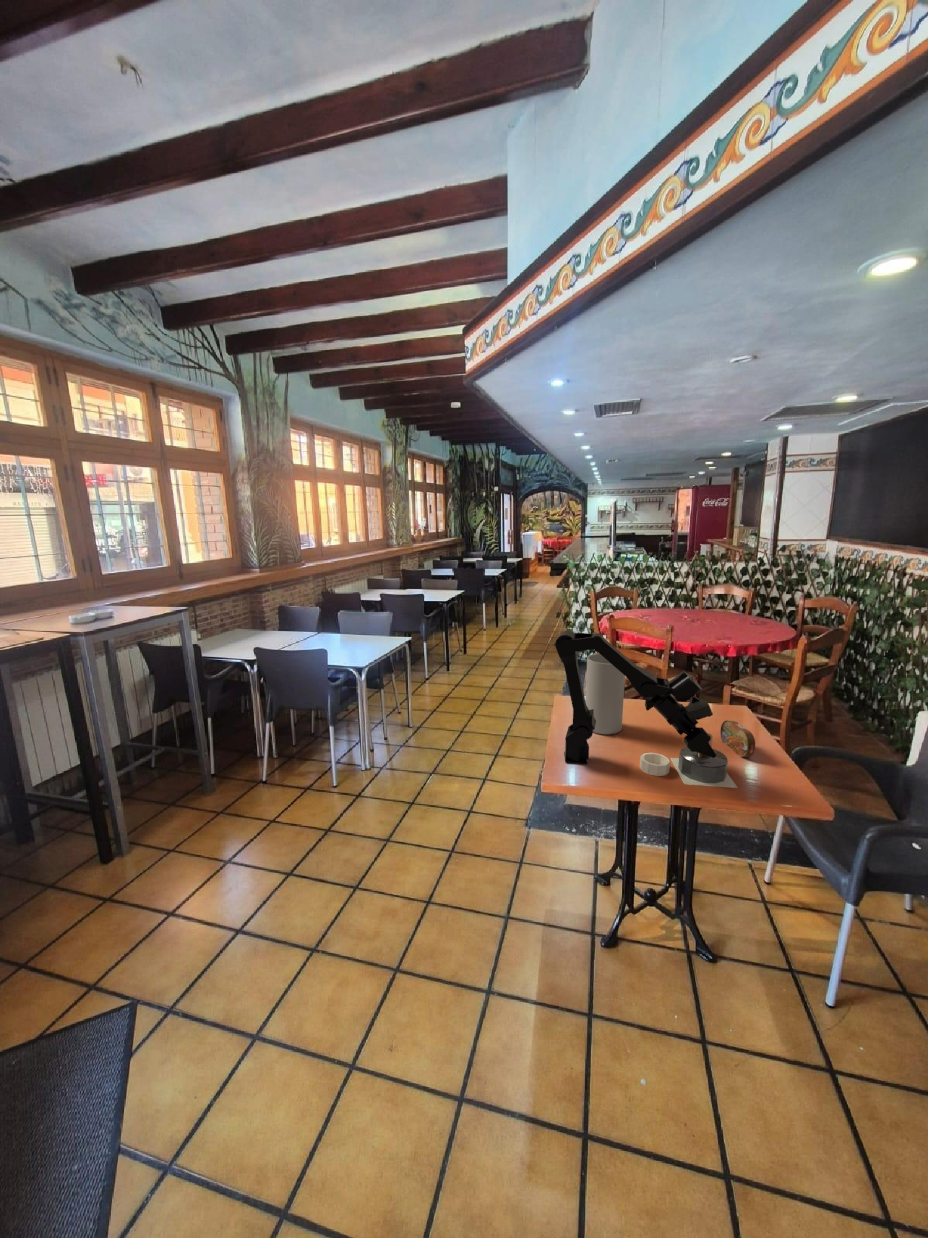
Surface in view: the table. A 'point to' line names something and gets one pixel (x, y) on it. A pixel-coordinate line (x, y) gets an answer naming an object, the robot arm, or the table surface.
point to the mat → (688, 781)
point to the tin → (738, 738)
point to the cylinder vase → (605, 694)
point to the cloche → (703, 765)
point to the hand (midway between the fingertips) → (709, 749)
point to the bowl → (654, 764)
